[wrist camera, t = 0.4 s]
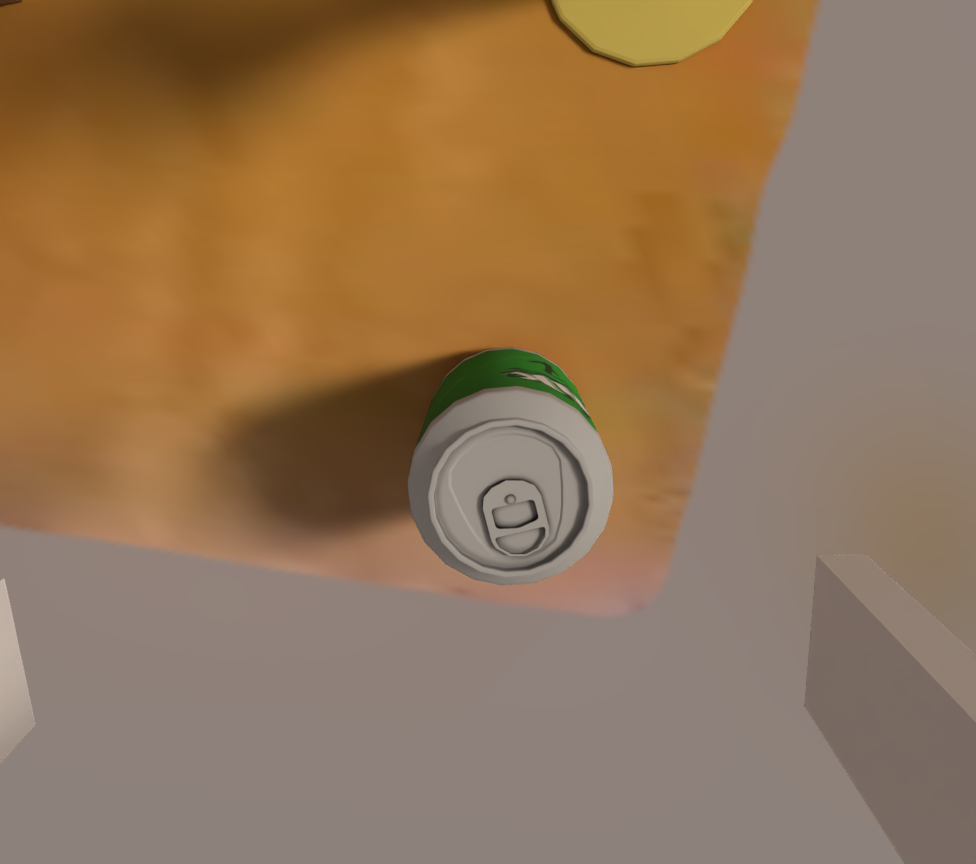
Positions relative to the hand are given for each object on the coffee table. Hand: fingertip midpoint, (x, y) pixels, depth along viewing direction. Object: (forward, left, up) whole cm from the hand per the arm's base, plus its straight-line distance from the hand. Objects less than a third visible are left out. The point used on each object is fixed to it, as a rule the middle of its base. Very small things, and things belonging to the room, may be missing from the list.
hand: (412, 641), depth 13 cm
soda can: (+3, +1, -27) cm, 27 cm away
